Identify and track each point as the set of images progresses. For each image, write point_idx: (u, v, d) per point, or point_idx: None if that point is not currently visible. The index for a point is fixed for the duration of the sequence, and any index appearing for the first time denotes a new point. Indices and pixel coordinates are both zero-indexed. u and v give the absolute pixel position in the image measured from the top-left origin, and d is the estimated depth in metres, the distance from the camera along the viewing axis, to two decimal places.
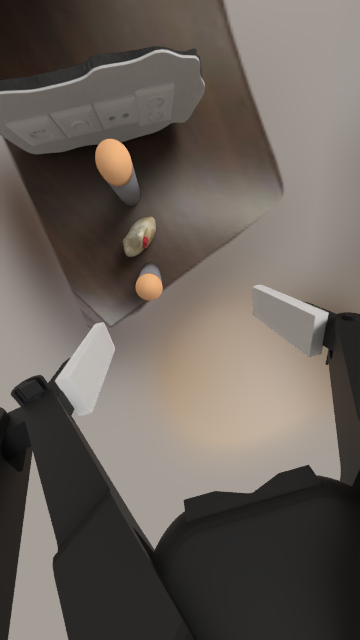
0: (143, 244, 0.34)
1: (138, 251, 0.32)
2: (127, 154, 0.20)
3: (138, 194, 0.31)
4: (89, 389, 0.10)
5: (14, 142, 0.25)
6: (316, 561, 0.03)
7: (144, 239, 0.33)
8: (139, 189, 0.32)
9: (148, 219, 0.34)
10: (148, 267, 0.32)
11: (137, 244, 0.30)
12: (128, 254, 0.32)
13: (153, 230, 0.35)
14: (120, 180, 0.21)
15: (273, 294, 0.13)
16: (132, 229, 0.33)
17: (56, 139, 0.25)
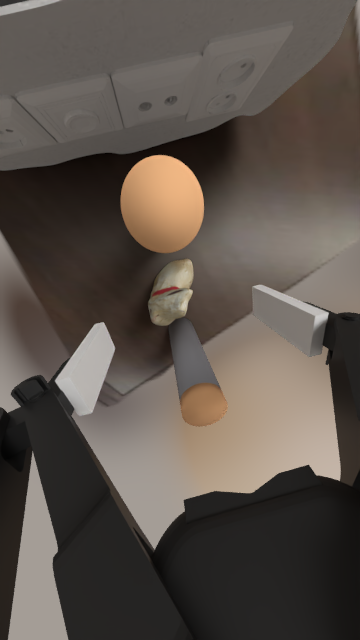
0: None
1: (173, 320, 0.21)
2: (197, 191, 0.08)
3: None
4: (89, 389, 0.10)
5: None
6: (316, 561, 0.03)
7: None
8: None
9: (185, 265, 0.22)
10: (188, 344, 0.21)
11: (176, 317, 0.18)
12: (157, 324, 0.21)
13: None
14: (174, 246, 0.09)
15: (273, 294, 0.13)
16: (162, 282, 0.22)
17: (37, 146, 0.14)
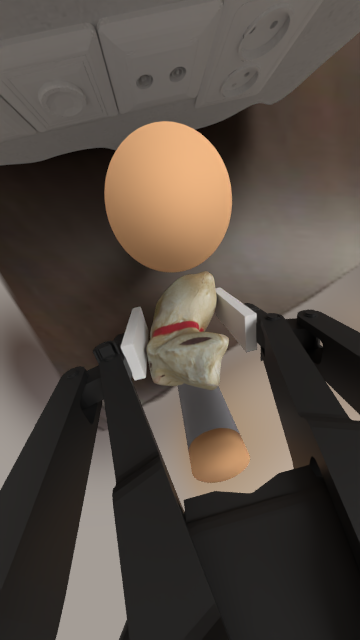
0: None
1: None
2: (222, 180, 0.05)
3: None
4: (142, 358, 0.12)
5: None
6: (315, 561, 0.03)
7: None
8: None
9: (205, 284, 0.14)
10: None
11: None
12: None
13: (215, 307, 0.15)
14: (186, 263, 0.06)
15: (224, 297, 0.14)
16: (168, 313, 0.13)
17: (10, 135, 0.11)
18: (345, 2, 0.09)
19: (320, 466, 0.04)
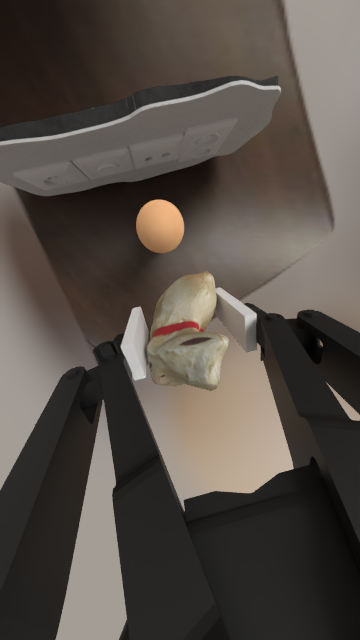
0: None
1: None
2: (179, 218, 0.15)
3: None
4: (142, 358, 0.12)
5: (23, 188, 0.19)
6: (316, 561, 0.03)
7: None
8: None
9: (205, 284, 0.14)
10: None
11: None
12: None
13: (215, 307, 0.15)
14: (167, 249, 0.16)
15: (224, 296, 0.14)
16: (168, 313, 0.13)
17: (75, 182, 0.20)
18: (246, 125, 0.18)
19: (320, 466, 0.04)
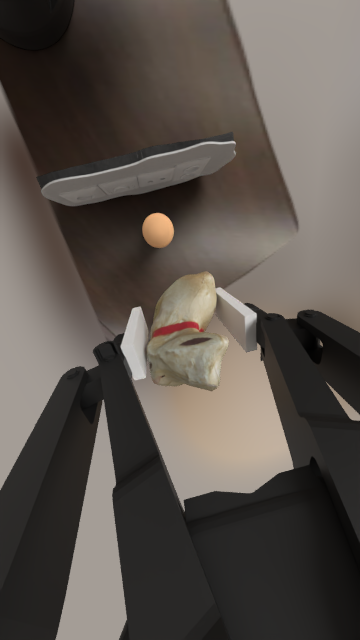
0: None
1: None
2: (170, 224, 0.23)
3: None
4: (142, 358, 0.12)
5: (60, 202, 0.27)
6: (315, 561, 0.03)
7: None
8: None
9: (205, 284, 0.14)
10: None
11: None
12: (161, 384, 0.12)
13: (215, 307, 0.15)
14: (162, 245, 0.23)
15: (224, 297, 0.14)
16: (169, 313, 0.13)
17: (97, 197, 0.28)
18: (217, 159, 0.25)
19: (320, 466, 0.04)
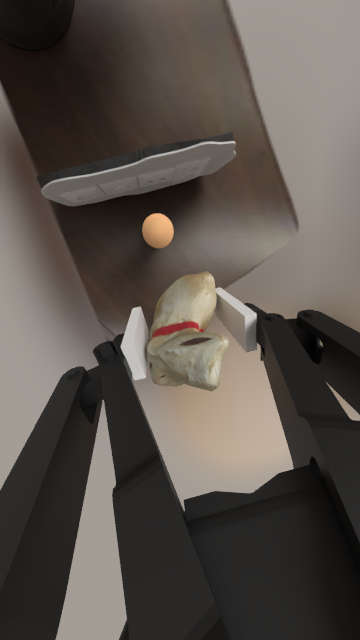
0: None
1: None
2: (170, 225, 0.23)
3: None
4: (142, 358, 0.12)
5: (60, 202, 0.27)
6: (315, 561, 0.03)
7: None
8: None
9: (205, 284, 0.14)
10: None
11: None
12: (161, 384, 0.12)
13: (215, 307, 0.15)
14: (162, 245, 0.23)
15: (224, 297, 0.14)
16: (169, 313, 0.13)
17: (97, 197, 0.28)
18: (217, 159, 0.25)
19: (320, 466, 0.04)
